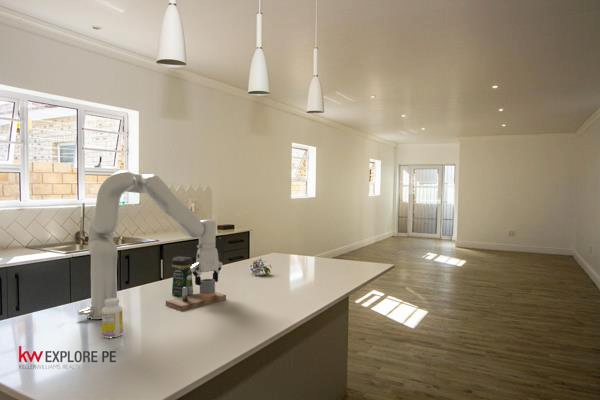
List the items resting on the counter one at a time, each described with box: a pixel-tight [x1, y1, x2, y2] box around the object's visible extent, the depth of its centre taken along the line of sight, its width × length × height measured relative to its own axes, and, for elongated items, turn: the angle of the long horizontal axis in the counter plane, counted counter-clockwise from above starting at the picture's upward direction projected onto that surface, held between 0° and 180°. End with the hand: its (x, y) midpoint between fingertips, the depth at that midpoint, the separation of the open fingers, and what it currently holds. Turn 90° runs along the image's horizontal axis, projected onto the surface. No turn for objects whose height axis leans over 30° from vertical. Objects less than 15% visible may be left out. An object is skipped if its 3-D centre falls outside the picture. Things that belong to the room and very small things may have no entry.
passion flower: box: [247, 257, 273, 277], centre depth 244 cm, size 11×11×12 cm
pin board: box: [165, 291, 227, 312], centre depth 186 cm, size 24×12×2 cm, turn 139°
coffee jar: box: [171, 256, 194, 297], centre depth 199 cm, size 10×8×19 cm
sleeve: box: [199, 278, 216, 297], centre depth 190 cm, size 7×7×7 cm
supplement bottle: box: [101, 297, 124, 339], centre depth 144 cm, size 7×7×13 cm
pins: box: [181, 287, 188, 301], centre depth 186 cm, size 14×2×6 cm, turn 139°
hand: (206, 283), depth 190 cm, fingers open, 9 cm apart
